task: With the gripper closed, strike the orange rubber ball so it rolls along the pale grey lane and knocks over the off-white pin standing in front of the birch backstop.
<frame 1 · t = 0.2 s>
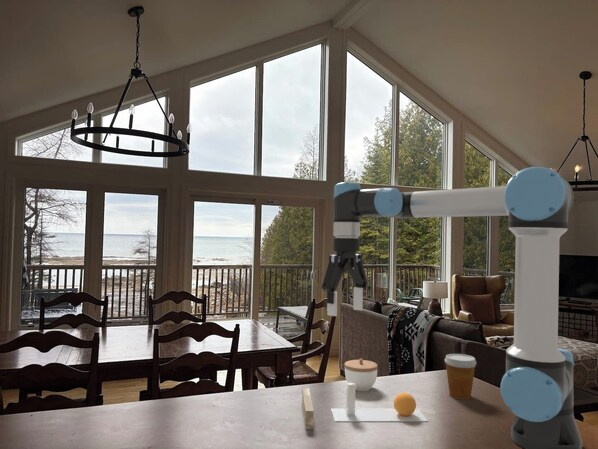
hand: (345, 312, 132), 28 cm above the kitchen island, tool pointing down, fingers open, 13 cm apart
lidded jar: (360, 388, 151), on the kitchen island
pin: (350, 415, 128), on the kitchen island
ball: (404, 404, 129), on the kitchen island
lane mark: (377, 415, 128), on the kitchen island
disposable coffee cup: (460, 396, 145), on the kitchen island
backstop: (307, 415, 127), on the kitchen island
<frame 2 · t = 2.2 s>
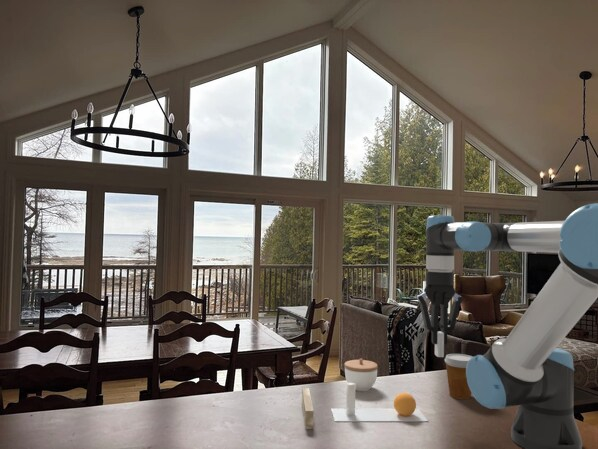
hand: (439, 355, 129), 16 cm above the kitchen island, tool pointing down, fingers closed
nothing on the kitchen island moved.
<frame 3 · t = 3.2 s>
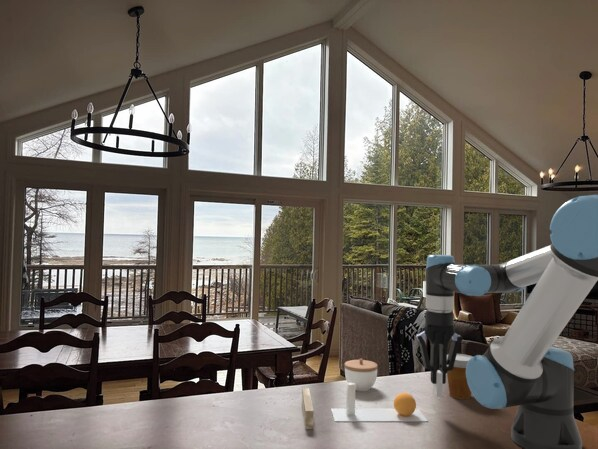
hand: (437, 395, 129), 5 cm above the kitchen island, tool pointing down, fingers closed
nothing on the kitchen island moved.
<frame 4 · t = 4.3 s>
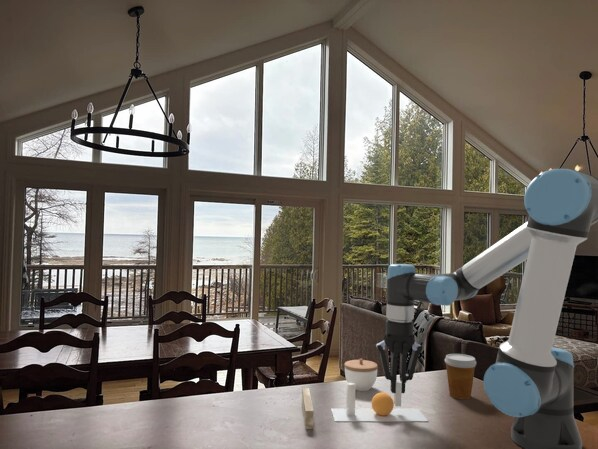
hand: (397, 404, 129), 3 cm above the kitchen island, tool pointing down, fingers closed
ball: (382, 403, 129), on the kitchen island
everything else where it was.
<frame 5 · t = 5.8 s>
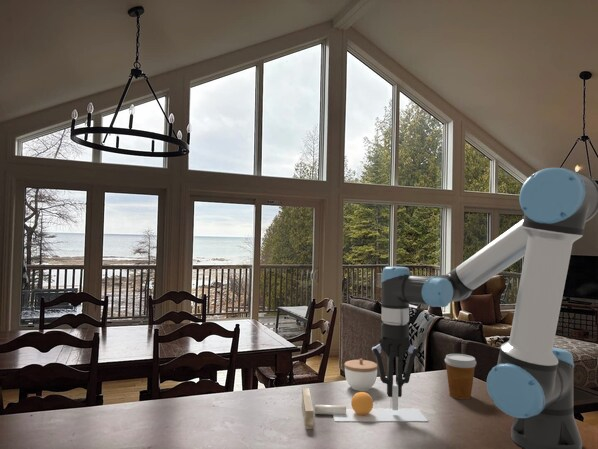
hand: (394, 408, 128), 2 cm above the kitchen island, tool pointing down, fingers closed
pin: (345, 410, 128), point 1 cm above the kitchen island, tilted 90°
ball: (362, 403, 129), on the kitchen island
everything else where it was.
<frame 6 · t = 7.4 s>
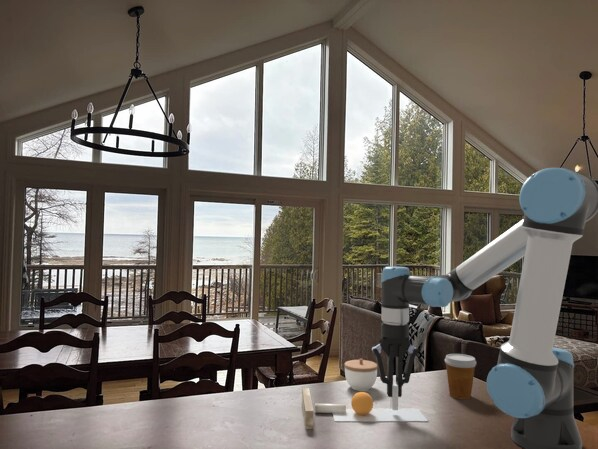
hand: (394, 408, 128), 2 cm above the kitchen island, tool pointing down, fingers closed
pin: (345, 409, 129), point 1 cm above the kitchen island, tilted 90°
everything else where it was.
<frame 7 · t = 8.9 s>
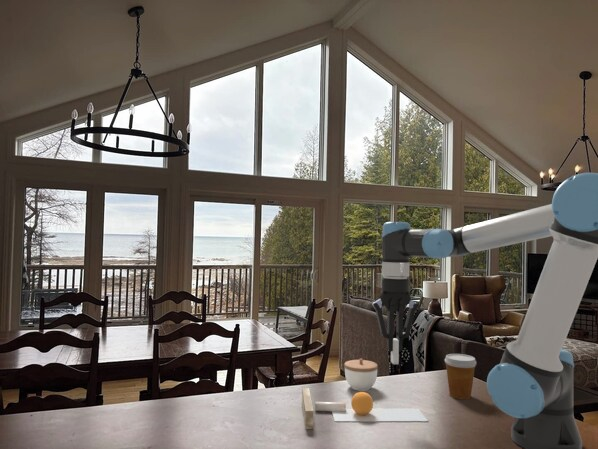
hand: (394, 362, 129), 14 cm above the kitchen island, tool pointing down, fingers closed
pin: (345, 407, 131), point 1 cm above the kitchen island, tilted 90°
everything else where it was.
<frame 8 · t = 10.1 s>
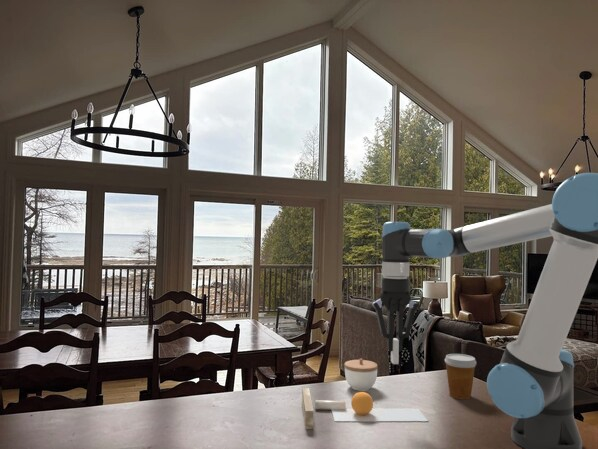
hand: (394, 362, 129), 14 cm above the kitchen island, tool pointing down, fingers closed
pin: (345, 405, 132), point 1 cm above the kitchen island, tilted 90°
everything else where it was.
at the end: pin tilted 90°; pin never touched the robot; ball moved 11.8 cm from its start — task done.
